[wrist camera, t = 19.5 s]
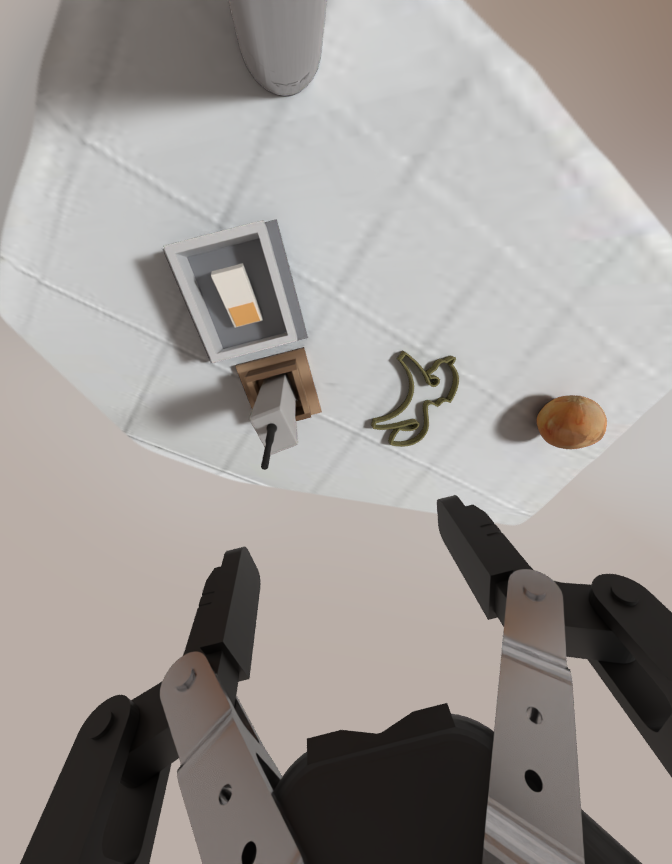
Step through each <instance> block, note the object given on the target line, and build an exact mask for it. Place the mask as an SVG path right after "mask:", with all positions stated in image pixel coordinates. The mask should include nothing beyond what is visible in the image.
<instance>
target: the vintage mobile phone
mask: <svg viewBox="0 0 672 864" xmlns="http://www.w3.org/2000/svg"><path fill="white" fill-rule="evenodd" d="M295 401H298V398H297V395H296V393H295V391H294V389H293V387H292V384H291V382H290V380H289V378H288V376H287V373H282V374H278V375H275V376H272V377H269V378H267V379H264V381H263V383H262V386H261V389H260V391H259V394H258V396H257V399H256V402H255V404H254V407H253V409H252V412H251V415H250V417H249V419H250V421H251V423H252V425H253V427H254V429H255V430H256V432H257V434H258V436H259V438H260V440H261V441H262V443H263V445H264V447H265V450H264V455H263V460H262V464H261V468H262V469H264V470H265V469H267V468H268V465H269V459H270V455H272V454H274V453H277V452H280V451H282V450H285V449H287V448H290V447H293V446H295V445H297V444H298V435H297V423H296V419H295Z"/></svg>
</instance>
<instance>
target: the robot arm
mask: <svg viewBox="0 0 672 864" xmlns="http://www.w3.org/2000/svg"><path fill="white" fill-rule="evenodd" d="M229 4H230V8H231V13H232V18H233V22H234V26H235V30H236V34H237V38H238V42H239V46H240V50H241V54H242V57H243V59H244V61H245V64H246V66H247V68H248V69H249V71H250V73H251V74H252V76H253V77H254V78H255V79H256V80H257V82H258V83H259V84H260V85H261V86H263V87H264V88H265V89H266V90H268V91H270V92H272V93H274V94H277V95H283V96H287V95H293V94H296V93H298V92H300V91H302V90H303V89H304V88H306V87H307V86H308V84H309V83H310V82H311V81H312V79H313V78H314V76H315V74H316V71H317V69H318V66H319V63H320V59H321V52H322V43H323V33H324V25H325V16H326V6H327V0H229ZM437 512H438V526H439V531H440V534H441V537H442V539H443V541H444V543H445V545H446V546H447V548H448V550H449V552H450V554H451V555H452V557H453V559H454V561H455V562H456V564H457V566H458V568H459V569H460V571H461V573H462V574H463V576H464V578H465V580H466V582H467V584H468V585H469V587H470V589H471V591H472V592H473V594H474V596H475V598H476V599H477V601H478V603H479V604H480V606H481V608H482V610H483V612H484V613H485V615H486V617H487V619H488V620H489V619H493V618H497V617H498V618H499V620H500V622H501V623H502V625H503V627H504V632H503V642H502V654H501V664H500V675H499V685H498V696H497V708H496V717H495V729H494V731H492V730H491V729H490V728H488V727H487V726H484V725H483V724H481V723H480V722H478V721H475V720H473V719H471V718H468V717H465V716H461V715H455V714H451V713H450V710H449V707H448V705H447V703H445V704H442V705H437V706H433V707H429V708H425V709H421V710H418V711H414V712H412V713H410V714H409V715H407V716H406V717H404V718H403V719H401V720H400V721H398V722H397V723H395V724H394V725H392V726H391V727H389V728H388V729H387V730H385V731H383V732H382V733H378V734H374V733H365V732H356V731H347V730H339V731H335V732H331V733H327V734H324V735H320V736H316V737H312V738H308V739H307V752H306V753H304V754H303V755H302V756H301V757H299V758H298V759H297V760H296V761H295V762H294V763H293V764H292V765H291V766H290V767H289V769H288V770H287V771H286V772H285V774H284V775H283V777H282V775H281V773H280V772H279V770H278V768H277V767H276V765H275V763H274V762H273V760H272V758H271V757H270V755H269V754H268V752H267V751H266V749H265V747H264V746H263V744H262V742H261V740H260V738H259V736H258V735H257V733H256V731H255V729H254V727H253V725H252V723H251V721H250V720H249V718H248V716H247V714H246V712H245V710H244V708H243V707H242V705H241V703H240V701H239V699H238V698H237V696H236V693H237V686H238V682H239V681H243V680H247V679H249V677H250V669H251V660H252V651H253V643H254V634H255V627H256V619H257V610H258V601H259V593H260V575H259V572H258V569H257V567H256V565H255V563H254V561H253V559H252V557H251V555H250V553H249V551H248V549H247V548H246V547H241V548H237V549H233V550H229V551H226V552H225V554H224V558H223V561H222V565H221V567H217V568H214V570H213V571H212V573H211V574H210V576H209V577H208V579H207V580H206V583H205V586H204V590H203V593H202V597H201V599H200V602H199V608H198V609H197V613H196V616H195V619H194V622H193V626H192V629H191V632H190V635H189V639H188V642H187V645H186V649H185V652H184V654H183V656H182V657H181V658H179V659H178V660H177V661H176V662H175V663H174V664H173V665H172V666H171V668H170V669H169V670H168V672H167V673H166V675H165V677H164V679H163V681H162V682H160V683H159V684H157V685H156V686H154V687H152V688H151V689H149V690H148V691H146V692H144V693H143V694H141V695H139V696H138V697H136V698H134V699H133V700H130V699H129V698H127V697H126V696H124V695H116V696H113V697H111V698H109V699H107V700H106V701H104V702H103V703H102V704H101V705H99V706H98V707H97V708H96V709H95V710H94V711H93V712H92V713H91V714H90V716H89V717H88V718H87V719H86V721H85V722H84V724H83V725H82V727H81V729H80V731H79V733H78V735H77V737H76V739H75V742H74V744H73V746H72V748H71V751H70V753H69V755H68V758H67V760H66V762H65V764H64V767H63V769H62V771H61V773H60V775H59V777H58V780H57V782H56V784H55V786H54V789H53V791H52V793H51V796H50V798H49V800H48V802H47V804H46V807H45V809H44V811H43V813H42V816H41V818H40V820H39V822H38V825H37V827H36V829H35V831H34V834H33V836H32V838H31V840H30V843H29V845H28V847H27V849H26V852H25V854H24V856H23V858H22V860H21V863H20V864H149V862H150V857H151V853H152V849H153V844H154V839H155V835H156V831H157V826H158V821H159V817H160V813H161V808H162V804H163V799H164V795H165V790H166V785H167V781H168V776H169V772H170V767H171V763H173V762H174V761H175V760H177V759H178V758H179V759H180V763H181V766H180V767H179V769H178V771H177V777H178V783H179V786H180V790H181V793H182V797H183V800H184V803H185V807H186V810H187V813H188V816H189V820H190V823H191V827H192V830H193V833H194V836H195V840H196V843H197V847H198V850H199V854H200V857H201V860H202V864H642V863H641V862H639V860H637V859H636V858H635V857H634V856H633V855H632V854H631V853H630V852H629V851H627V850H626V849H625V848H624V847H623V846H622V845H620V843H618V842H617V841H616V840H615V839H614V838H613V837H612V836H611V835H610V834H608V833H607V832H606V831H605V830H604V829H603V828H602V827H601V826H600V825H598V824H597V823H596V822H595V821H594V820H593V819H592V818H591V817H589V816H588V815H587V814H586V813H585V812H584V811H583V810H582V809H581V803H580V788H579V773H578V758H577V745H576V744H577V743H576V729H575V714H574V700H573V699H574V698H573V684H572V676H571V671H570V669H568V667H567V661H566V657H575V658H582V659H588V661H589V662H590V663H591V665H592V666H593V667H594V669H595V670H596V672H597V673H598V675H599V676H600V677H601V679H602V680H603V682H604V683H605V685H606V686H607V687H608V689H609V690H610V691H611V693H612V694H613V696H614V697H615V699H616V700H617V701H618V703H619V704H620V705H621V707H622V708H623V710H624V711H625V713H626V714H627V715H628V717H629V718H630V720H631V721H632V722H633V724H634V725H635V727H636V728H637V729H638V731H639V732H640V734H641V735H642V736H643V738H644V739H645V741H646V742H647V743H648V745H649V746H650V748H651V749H652V750H653V752H654V753H655V755H656V756H657V757H658V759H659V760H660V762H661V763H662V764H663V766H664V767H665V769H666V770H667V771H668V773H669V774H670V776H671V777H672V612H671V611H669V610H668V609H667V608H666V607H665V606H664V605H663V604H662V603H661V602H660V601H659V600H658V599H657V598H656V597H655V596H654V595H652V594H651V593H650V592H649V591H648V590H647V589H646V588H645V587H643V586H642V585H640V584H639V583H637V582H635V581H633V580H631V579H629V578H626V577H624V576H620V575H616V574H602V575H599V576H597V577H596V578H595V579H594V580H593V582H592V585H587V584H572V583H561V582H556V581H553V580H552V579H551V578H549V577H548V576H546V575H545V574H543V573H541V572H538V571H535V570H533V569H532V568H531V567H530V566H529V565H528V563H527V562H526V561H525V560H524V558H523V557H522V556H521V555H520V554H519V553H518V551H517V550H516V549H515V548H514V546H513V545H512V544H511V543H510V541H509V540H508V539H507V538H506V537H505V535H504V534H503V533H501V531H500V529H499V528H498V527H497V526H496V525H495V524H494V522H493V521H492V520H491V518H490V517H489V516H488V515H487V514H486V512H484V511H483V510H481V509H479V508H478V507H476V506H474V505H469V506H465V505H464V504H463V503H462V501H461V500H460V499H459V498H458V496H456V495H454V496H450V497H446V498H442V499H438V500H437Z"/></svg>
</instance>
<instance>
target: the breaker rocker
mask: <svg viewBox="0 0 672 864" xmlns="http://www.w3.org/2000/svg"><path fill="white" fill-rule="evenodd" d="M211 277H212V279H213V281H214V283H215V286H216V288H217V290H218V292H219V294H220V296H221V299H222V301H223V303H224V305H225V307H226V309H227V312H228V314H229V316H230V318H231V320H232V323H233V325H234V327H239V326H243V325H247V324H250V323H254V322H258V321H262V320H263V319H262V314H261V311H260V308H259V306H258V303H257V300H256V298H255V295H254V292H253V290H252V287H251V284H250V281H249V279H248V276H247V273H246V271H245V268H244V265H243V263H242V264H238V265H234V266H230V267H226V268H223V269H219V270H215V271H212V273H211Z"/></svg>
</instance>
